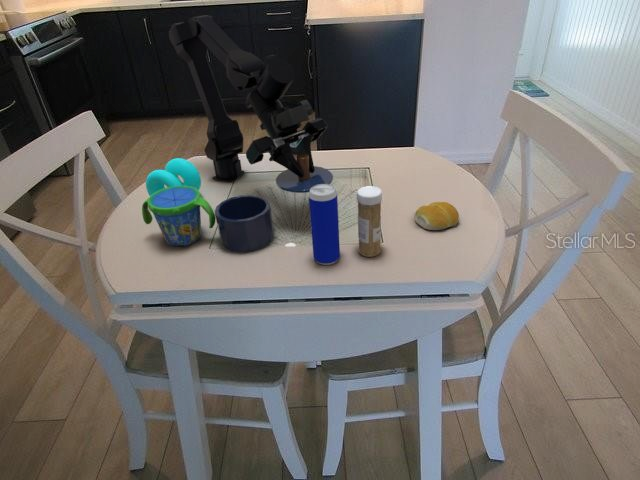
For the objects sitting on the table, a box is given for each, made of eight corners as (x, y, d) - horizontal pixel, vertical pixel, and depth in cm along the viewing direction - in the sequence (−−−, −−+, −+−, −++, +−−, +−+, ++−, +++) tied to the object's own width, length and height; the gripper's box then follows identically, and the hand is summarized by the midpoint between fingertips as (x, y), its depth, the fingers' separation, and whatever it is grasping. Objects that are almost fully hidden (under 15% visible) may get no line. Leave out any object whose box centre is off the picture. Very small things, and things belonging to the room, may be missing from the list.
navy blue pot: (211, 247, 96) (204, 216, 92) (238, 221, 104) (233, 192, 100) (258, 256, 92) (252, 224, 88) (282, 228, 100) (279, 198, 96)
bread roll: (465, 223, 98) (467, 206, 95) (431, 235, 94) (433, 218, 92) (440, 207, 104) (441, 191, 102) (407, 218, 101) (408, 202, 99)
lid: (275, 197, 93) (271, 169, 90) (277, 172, 104) (274, 146, 100) (334, 193, 94) (333, 165, 90) (331, 168, 104) (329, 142, 100)
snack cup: (227, 229, 101) (219, 188, 96) (203, 256, 93) (193, 212, 88) (167, 222, 106) (156, 182, 100) (139, 246, 97) (125, 204, 92)
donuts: (149, 208, 112) (138, 170, 107) (174, 190, 120) (165, 154, 114) (183, 213, 109) (173, 175, 103) (206, 195, 116) (199, 158, 111)
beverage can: (343, 253, 91) (340, 184, 83) (335, 267, 87) (331, 197, 79) (318, 249, 93) (313, 182, 84) (310, 264, 89) (303, 194, 80)
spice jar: (384, 255, 89) (385, 194, 82) (361, 259, 89) (361, 197, 81) (376, 243, 93) (377, 183, 86) (355, 247, 93) (353, 187, 85)
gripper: (245, 100, 86) (287, 171, 85) (319, 79, 96) (358, 142, 95) (229, 131, 95) (267, 195, 94) (298, 109, 105) (333, 167, 104)
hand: (307, 174), depth 97 cm, fingers closed on lid, 3 cm apart
